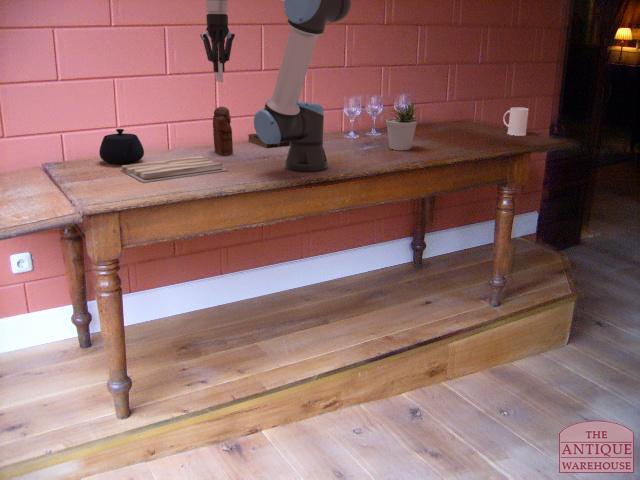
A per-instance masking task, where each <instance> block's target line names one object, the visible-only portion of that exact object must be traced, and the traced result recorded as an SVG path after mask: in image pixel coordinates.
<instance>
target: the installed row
mask: <svg viewBox="0 0 640 480" xmlns="http://www.w3.org/2000/svg"><path fill="white" fill-rule="evenodd" d="M202 160H210V159H209V158H206V157H204V156H201V155H199V156H198V155H197V156H190V157H181V158H174V159H167V160H166V159H165V160H159V161H149V162H140V163H134V164H129V165H121V170H123V171H125V172H127V173H129V174H131V173H133V169H140V168H148V167H156V166H164V165H171V164H179V163H187V162H195V161H202Z"/></svg>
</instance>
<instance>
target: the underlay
mask: <svg viewBox="0 0 640 480" xmlns="http://www.w3.org/2000/svg"><path fill="white" fill-rule="evenodd" d="M120 172H122V173H123V174H125V175H127V176H130V177H131V178H133V179H135V180H136V181H139V182H140V183H142V184H145V183H154V182H161V181H167V180H173V179H182V178H189V177H195V176H204V175H210V174H216V173H223V172H229V169H228V168H225V167H222V169H216V170H209V171H202V172H195V173H187V174H180V175H173V176H166V177H159V178H151V179H144V178H142V177H140V176H138V175H135V174H133V173H131V174H129V173H127V172H125V171H123V170H122V169H120Z"/></svg>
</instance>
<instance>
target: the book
mask: <svg viewBox="0 0 640 480" xmlns="http://www.w3.org/2000/svg"><path fill="white" fill-rule="evenodd" d="M247 136H248V142H249V143H252V144H255V145H257V146H260V147H263V148H266V149H272V148H273V147H274V148H282V146H283V147H290V141H288V142H282V143H278V144H266V143H264V142H263V141H261V140H260V138H259V137H258V135H257V134H256V133H250V134H247ZM274 148H273V149H274Z"/></svg>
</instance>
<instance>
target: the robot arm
mask: <svg viewBox="0 0 640 480" xmlns="http://www.w3.org/2000/svg"><path fill="white" fill-rule="evenodd" d="M279 1H281V2H283V4H284V5H283V7H284V10H285V11H284V13H285V17H286V18H287V21H286V22H287V24H288V27H289V28H290V29H289V32H288V33H289V34H288V37H287V41H286V45H285V48H284V51H283V54H282V58H281V59H282V60H281V63H280V67H279V70H278V73H277V77H276V81H275V84H274V89H273V91H272V96H270V97H268V98H267V99H266V100H265V105H264V107H263V109H262V108H261V109H259V110H257V111H256V112H255V114H254V118H253V127H254V130H255V134H257V135H258V137H259V138H260V140H261V141H263V142H264V143H266V144H278V143H282V142H288V141H290V146H289V149H288V153H287V156H286V159H285V168H286V169H287V170H290V171H295V172H296V171H297V172H318V171H323V170H326V169H328V159H327V155H326V151H325V148H324V117H325V116H324V107H323V106H322V104H320V103H315V102H308V101H307V102H306V101H299V98H300V96H301V92H302V88H303V85H304V83H305V78H306V75H307V72H308V69H309V65H310V63H311V59H312V55H313V51H314V49H315V45H316V42H317V39H318V37H319V36H322V35H323V34H324V31H325V28H326V25H327V23H328V24H333V23H338V22H341V21H343V20H344V19H345V18H346V17H347V16H348V15H349V13H350V12H351V10H352V9H351V8H352V4H353V3H352V0H279ZM228 8H229V7H228V0H205V11H206V12H207V14H206V15H205V17H206V29H205V32H203V33H200V35H199V36H200V38H201V40H202V41H203V46H204V50H205V53H206V58H207V61H208V62H211V63H212V65H213V66H212V67H213V73H215V82H217V83H222V82H223V83H224V74H223V73H225V69H226V68H225V64H226V63H227V62H228V61H230V59H231V58H230V57H231V51H232V47H233V42H234V41H233V40H234V39H235V36H236V34H235V33H232V32H230V28H229V15H228V14H227V13H228V11H229V9H228ZM209 38H210V39H209ZM210 42H211V43H210Z"/></svg>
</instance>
